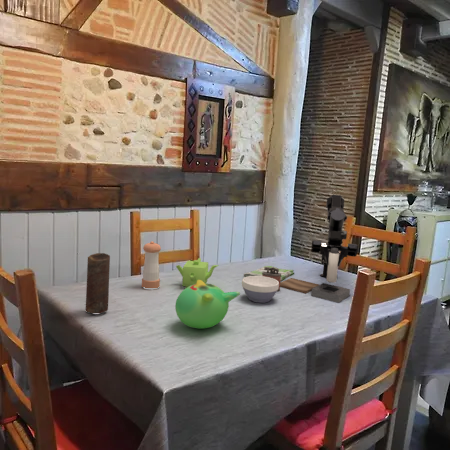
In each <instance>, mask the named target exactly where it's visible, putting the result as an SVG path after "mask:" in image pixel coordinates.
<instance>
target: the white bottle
mask: <svg viewBox="0 0 450 450" xmlns="http://www.w3.org/2000/svg"><path fill="white" fill-rule="evenodd" d="M339 253H340V252H339ZM339 253H338V248H334V247H332V248H331V252H329V261H328V270H327V277H326V279H325V280H326V282H327V283H337V279H338V271H339V270H338V268H339V266H338V261H339Z"/></svg>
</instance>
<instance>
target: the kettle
mask: <svg viewBox="0 0 450 450" xmlns="http://www.w3.org/2000/svg"><path fill="white" fill-rule="evenodd" d="M175 267H176V269H177V270H178V272H179V274H180V275H181V277H182V281H181V282H182V283H181V284H182V287H184V288H185V287H186V288H187V287H189V286H191V285H194V284H196V283H197V280H202V281H203V282H204V283H207V282H208V279H210V278H211V276H212V274H213V272H214V269H215V268H217V267H219V265H217V264H214V265H211V266H210V269H209V262H207V261H202V258H201V257H198V258H197V259H195V260H187V261H186V262H185V264H184V265H183V266H181V265H180V264H177V265H176V266H175ZM207 284H208V283H207ZM186 288H185V289H186Z"/></svg>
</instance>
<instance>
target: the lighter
mask: <svg viewBox="0 0 450 450" xmlns="http://www.w3.org/2000/svg"><path fill="white" fill-rule="evenodd" d="M263 267H264V266H263ZM274 267H275V266H273V267H272V268H270V267H264V270H267V272H262V276H264V277H269V278H273V279H275V280H277V281H278V282H279V288H278V290H277V292H276V293H279V292H281V287H280V282H281V281H280V279H281V273H278V272H279V269H280V268H277V267H276V268H274ZM269 271H270V272H269ZM275 271H276V272H275Z"/></svg>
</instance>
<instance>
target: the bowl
mask: <svg viewBox="0 0 450 450" xmlns="http://www.w3.org/2000/svg"><path fill="white" fill-rule="evenodd" d="M241 287H242V289H243V291H244V294H245V295H246V297H247V298H248V300H249V301H251V302H253V303H259V304H263V303H269V302H271V300H272V299H273V298H274V297H275V295H276V293H278V292H277V290H278V288H279V282H278V281H277V280H275V279H273V278H269V277H264V276H248V277H243V278H242V280H241Z"/></svg>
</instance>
